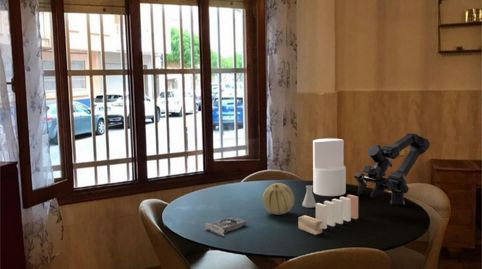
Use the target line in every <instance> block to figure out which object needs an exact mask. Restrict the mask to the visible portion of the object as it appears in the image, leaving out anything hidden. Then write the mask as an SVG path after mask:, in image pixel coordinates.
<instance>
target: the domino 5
mask: <svg viewBox="0 0 482 269" xmlns="http://www.w3.org/2000/svg"><path fill="white" fill-rule="evenodd" d="M346 198H350V199H351V219H354V220H357V219H359V196H356V195H352V194H346Z"/></svg>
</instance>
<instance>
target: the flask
mask: <svg viewBox="0 0 482 269" xmlns="http://www.w3.org/2000/svg"><path fill="white" fill-rule="evenodd" d="M305 188H306V191H305V192H306V193H305V196H304V199H303V201H302V204H301V206H302V207H304V208H307V209H309V208H311V209H312V208H316V200H315V196H314V194H313V193H314V192H313V185H306V186H305Z"/></svg>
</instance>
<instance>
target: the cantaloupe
mask: <svg viewBox="0 0 482 269" xmlns="http://www.w3.org/2000/svg"><path fill="white" fill-rule="evenodd" d="M262 203H263V206H264V207H263V208H265V209H266V210H267V212H268V213H270V214H272V215H277V216H279V215H284V214H286V213H289V211H290V210H291V209H292V208H293V207H294V204H295V195H294V192H293V190H292V188H291V187H289V186H288V185H286V184H285V183H280V182H276V183H272V184H270V185H269V186H268V187H266V189H265V190H264V192H263V194H262Z"/></svg>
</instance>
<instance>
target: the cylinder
mask: <svg viewBox="0 0 482 269" xmlns="http://www.w3.org/2000/svg"><path fill="white" fill-rule="evenodd" d="M344 143H345V142H344V139H341V138H317V139H314V140H312V160H313V161H312V165H313V166H312V167H313V168H312V170H313V171H312V175H313V176H312V179H313V180H312V181H313V182H312V186H313V188H312V192H313V193H314V194H315V195H318V196H322V197H338V196H339V197H340V196H343V195H345V194H346V191H347V188H346V187H347V186H346V185H347V184H346V183H347V182H346V179H347V178H346V177H347V174H346V173H347V172H346V170H347V166H345V165H344V163H345V162H344V159H345V158H344V157H345V155H344Z"/></svg>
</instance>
